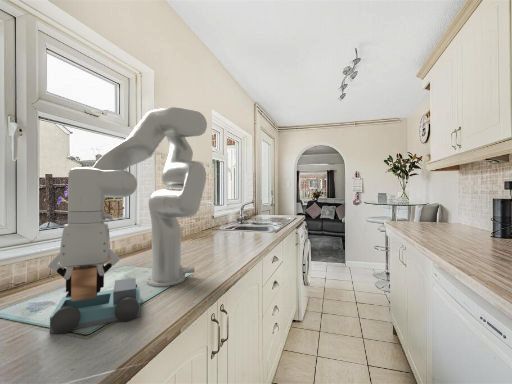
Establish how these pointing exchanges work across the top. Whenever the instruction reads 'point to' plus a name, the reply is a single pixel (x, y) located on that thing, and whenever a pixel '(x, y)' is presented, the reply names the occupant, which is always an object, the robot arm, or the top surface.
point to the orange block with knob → (84, 282)
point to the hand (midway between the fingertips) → (85, 291)
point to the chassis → (98, 308)
